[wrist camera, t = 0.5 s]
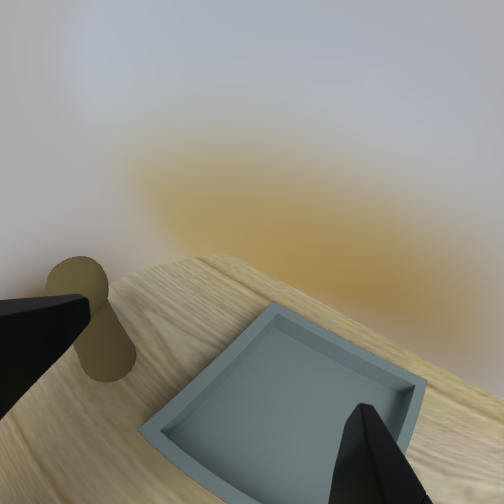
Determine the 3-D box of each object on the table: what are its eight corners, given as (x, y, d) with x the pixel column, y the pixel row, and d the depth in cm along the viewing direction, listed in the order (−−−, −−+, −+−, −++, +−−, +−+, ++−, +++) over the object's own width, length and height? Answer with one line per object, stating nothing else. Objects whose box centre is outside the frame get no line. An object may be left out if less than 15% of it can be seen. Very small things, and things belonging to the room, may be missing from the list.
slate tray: (334, 553, 10) (350, 556, 8) (146, 440, 17) (137, 429, 15) (412, 394, 22) (427, 380, 20) (269, 319, 30) (273, 300, 28)
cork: (83, 333, 24) (47, 248, 18) (135, 330, 26) (112, 241, 20) (78, 382, 20) (26, 301, 14) (137, 380, 22) (103, 296, 15)
